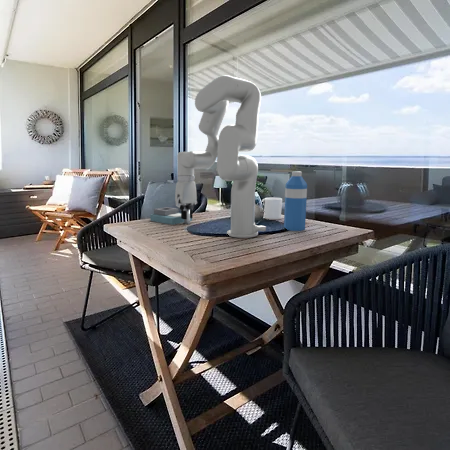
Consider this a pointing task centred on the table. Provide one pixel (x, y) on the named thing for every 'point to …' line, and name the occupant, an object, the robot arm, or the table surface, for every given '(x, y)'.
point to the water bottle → (295, 202)
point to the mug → (273, 208)
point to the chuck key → (188, 213)
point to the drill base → (166, 216)
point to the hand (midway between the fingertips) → (186, 218)
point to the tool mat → (175, 215)
